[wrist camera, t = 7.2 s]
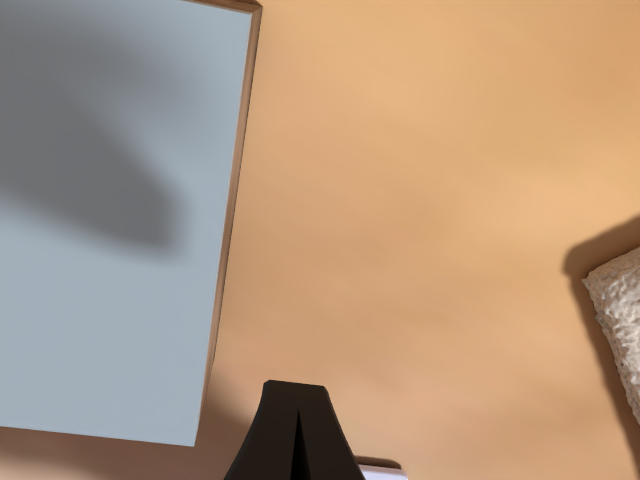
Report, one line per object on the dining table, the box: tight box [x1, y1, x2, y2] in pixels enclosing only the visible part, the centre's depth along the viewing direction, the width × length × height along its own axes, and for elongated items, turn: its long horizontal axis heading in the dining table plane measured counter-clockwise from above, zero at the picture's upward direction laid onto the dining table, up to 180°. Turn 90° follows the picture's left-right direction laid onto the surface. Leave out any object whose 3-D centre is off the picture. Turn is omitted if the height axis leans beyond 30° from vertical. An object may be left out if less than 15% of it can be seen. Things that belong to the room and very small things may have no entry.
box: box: [193, 0, 263, 426], centre depth 17 cm, size 14×12×4 cm
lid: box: [0, 0, 252, 447], centre depth 15 cm, size 14×12×1 cm
